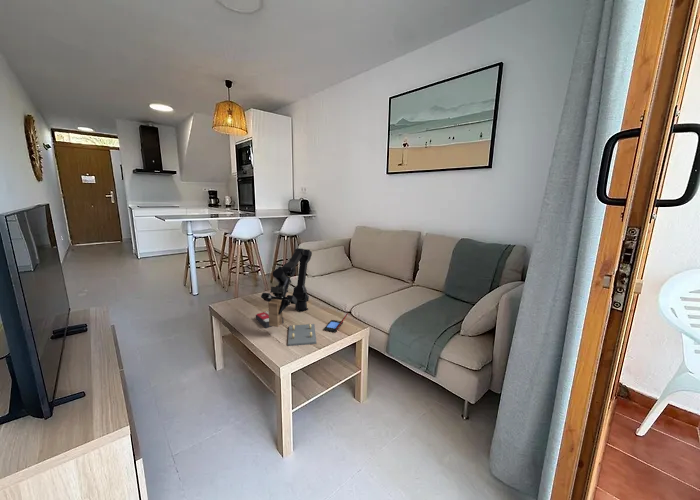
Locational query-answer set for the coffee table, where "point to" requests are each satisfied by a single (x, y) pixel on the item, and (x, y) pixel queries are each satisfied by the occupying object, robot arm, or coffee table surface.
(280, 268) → the robot arm
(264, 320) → the grey and red box
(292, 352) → the coffee table surface
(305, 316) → the coffee table surface
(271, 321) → the walnut block
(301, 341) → the plate
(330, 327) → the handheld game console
